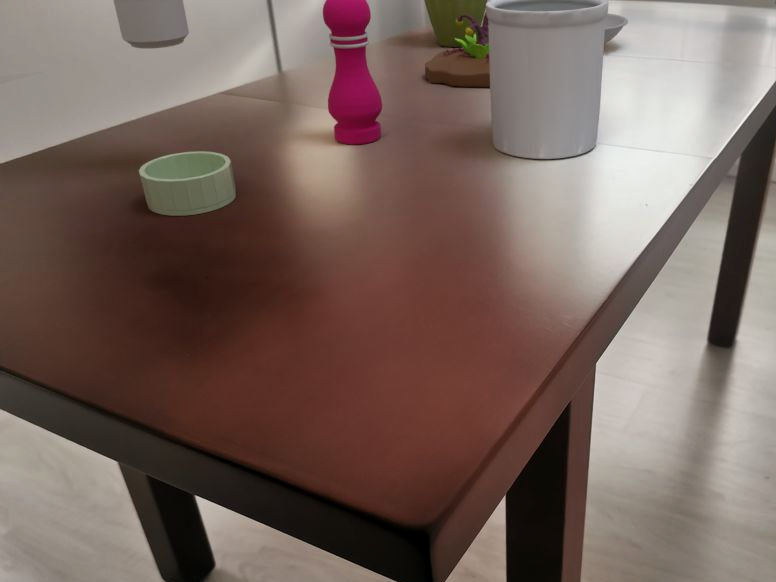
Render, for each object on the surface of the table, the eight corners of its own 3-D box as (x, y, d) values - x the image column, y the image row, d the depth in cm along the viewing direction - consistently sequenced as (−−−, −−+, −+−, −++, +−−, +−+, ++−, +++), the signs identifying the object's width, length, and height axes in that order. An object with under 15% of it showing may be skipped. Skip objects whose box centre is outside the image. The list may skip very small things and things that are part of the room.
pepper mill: (336, 130, 113) (319, -26, 103) (387, 129, 113) (376, -27, 103) (327, 146, 107) (308, -18, 97) (381, 145, 107) (368, -19, 96)
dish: (617, 60, 146) (619, 31, 144) (540, 56, 150) (541, 27, 148) (632, 40, 160) (634, 13, 158) (561, 37, 164) (562, 11, 162)
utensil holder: (464, 148, 105) (461, 4, 96) (527, 120, 115) (529, -13, 106) (560, 169, 98) (567, 15, 88) (619, 138, 108) (631, -4, 98)
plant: (521, 92, 128) (522, 17, 122) (410, 83, 135) (406, 12, 129) (557, 64, 144) (559, -3, 138) (456, 58, 150) (454, -7, 145)
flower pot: (436, 34, 170) (433, -50, 161) (503, 38, 165) (504, -49, 157) (408, 49, 158) (403, -41, 149) (480, 53, 154) (479, -40, 145)
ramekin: (152, 222, 86) (143, 186, 84) (143, 192, 94) (134, 159, 92) (244, 206, 90) (237, 171, 88) (227, 178, 97) (221, 146, 95)
